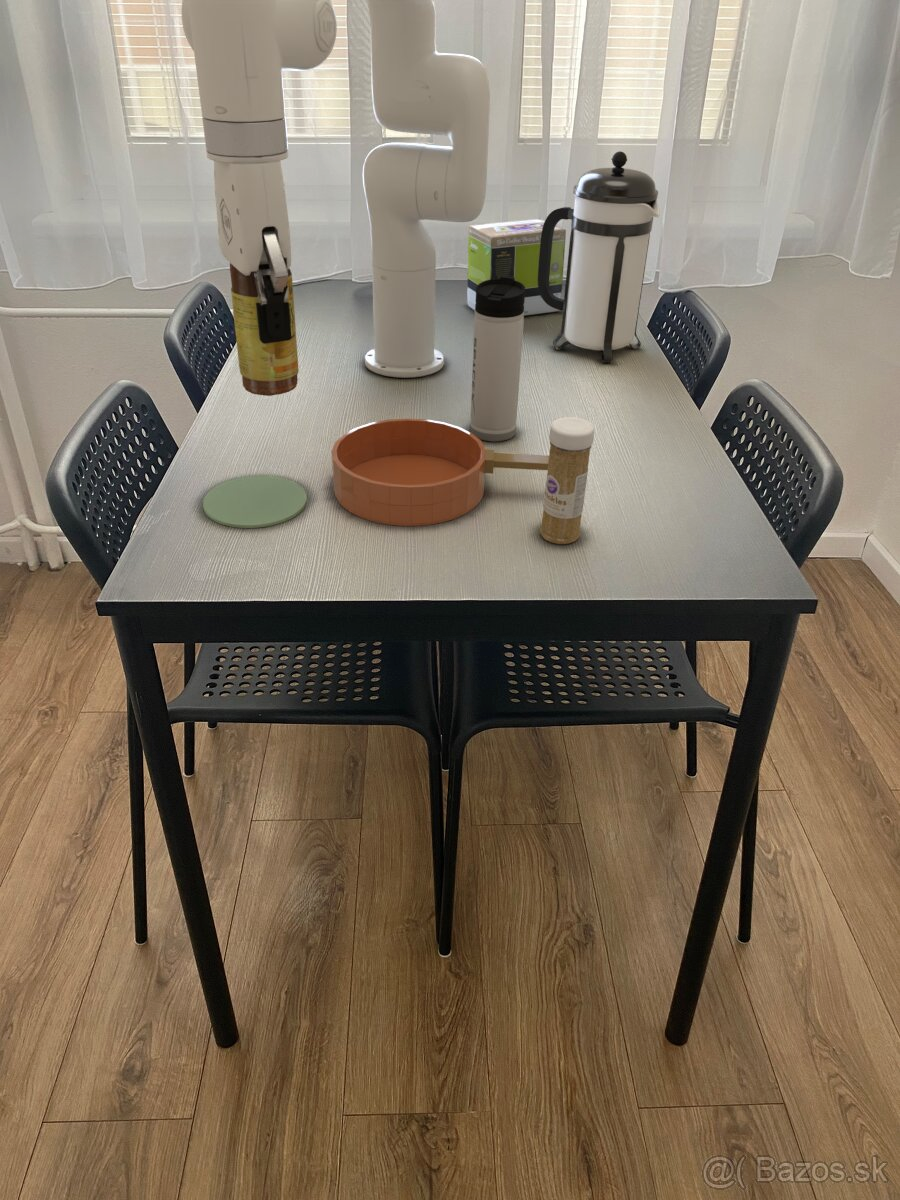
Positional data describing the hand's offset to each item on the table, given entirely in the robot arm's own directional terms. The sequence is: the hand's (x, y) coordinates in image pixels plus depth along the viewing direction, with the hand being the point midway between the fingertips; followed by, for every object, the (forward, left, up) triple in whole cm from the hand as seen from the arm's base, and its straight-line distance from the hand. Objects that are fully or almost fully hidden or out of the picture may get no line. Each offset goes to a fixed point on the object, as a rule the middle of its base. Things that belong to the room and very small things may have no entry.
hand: (265, 328), depth 92 cm
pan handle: (+11, +28, -17) cm, 34 cm away
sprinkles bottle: (+20, +26, -21) cm, 39 cm away
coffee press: (-30, +63, -21) cm, 73 cm away
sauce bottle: (0, 0, -7) cm, 7 cm away
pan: (+3, +15, -20) cm, 25 cm away
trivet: (-1, -3, -20) cm, 21 cm away
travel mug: (-7, +32, -21) cm, 39 cm away
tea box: (-53, +61, -21) cm, 83 cm away
